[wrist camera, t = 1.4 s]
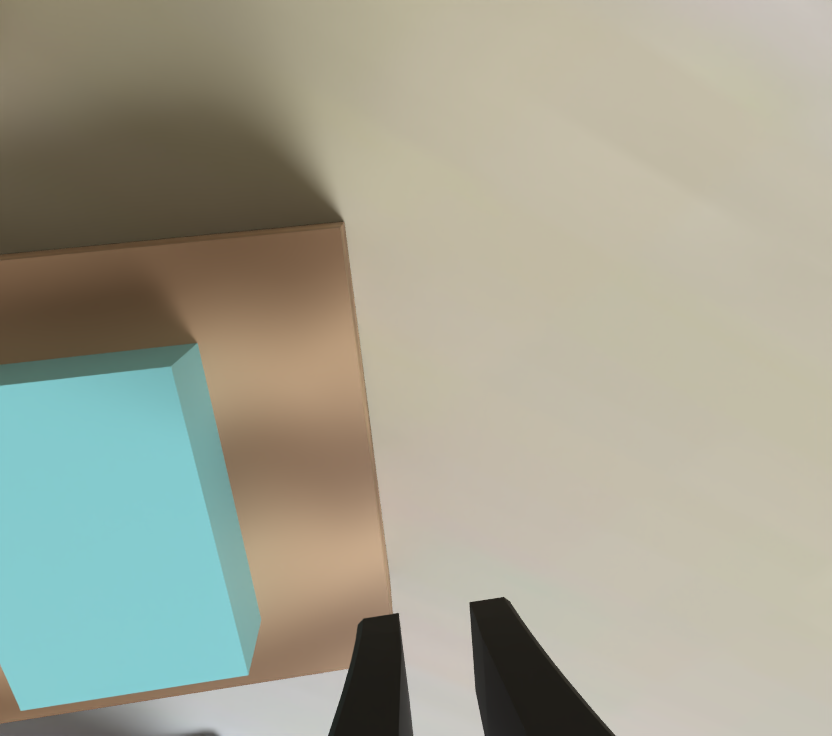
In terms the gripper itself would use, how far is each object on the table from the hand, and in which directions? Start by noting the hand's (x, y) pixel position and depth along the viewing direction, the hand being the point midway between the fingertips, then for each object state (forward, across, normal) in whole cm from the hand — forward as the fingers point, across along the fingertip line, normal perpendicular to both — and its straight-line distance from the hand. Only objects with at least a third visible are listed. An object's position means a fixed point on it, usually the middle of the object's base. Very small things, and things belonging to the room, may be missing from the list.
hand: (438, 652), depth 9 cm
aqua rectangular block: (+6, +8, 0) cm, 10 cm away
